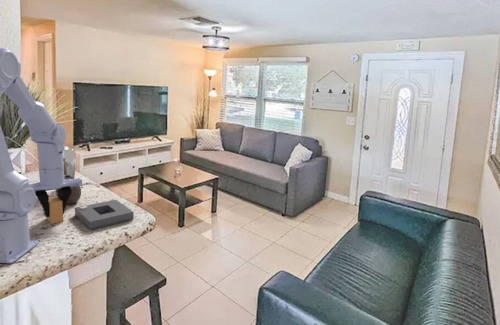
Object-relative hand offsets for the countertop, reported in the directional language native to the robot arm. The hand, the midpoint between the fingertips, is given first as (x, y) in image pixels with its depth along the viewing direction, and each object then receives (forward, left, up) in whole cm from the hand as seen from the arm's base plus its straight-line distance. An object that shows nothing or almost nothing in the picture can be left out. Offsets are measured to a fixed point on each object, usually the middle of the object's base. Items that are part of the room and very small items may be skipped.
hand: (54, 214), depth 91 cm
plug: (0, 0, -2) cm, 2 cm away
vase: (+13, +3, -2) cm, 13 cm away
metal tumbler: (+24, +10, -2) cm, 26 cm away
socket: (+4, -12, -2) cm, 13 cm away
